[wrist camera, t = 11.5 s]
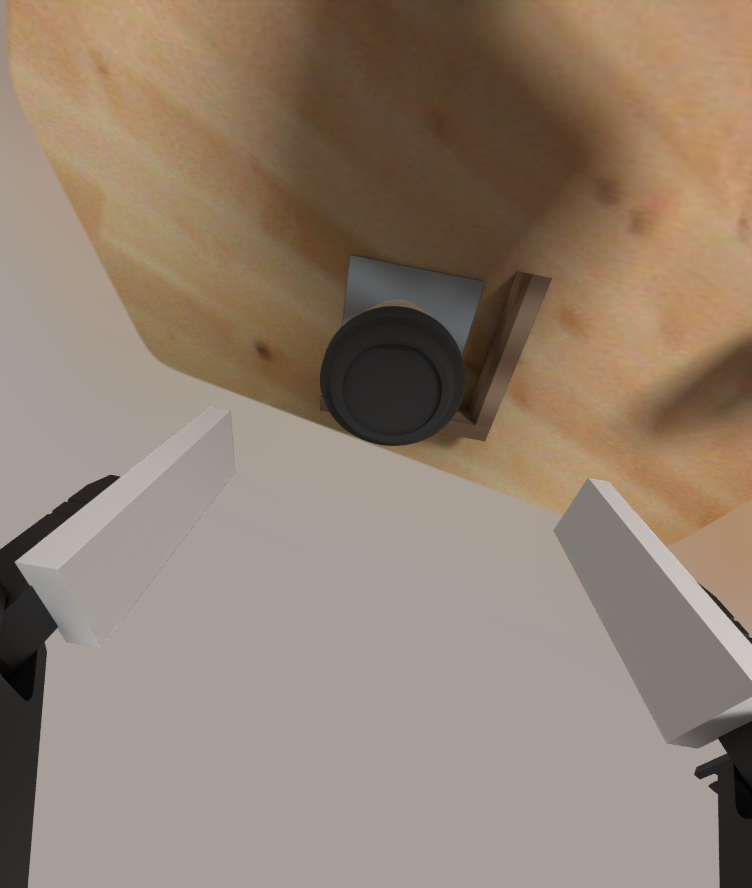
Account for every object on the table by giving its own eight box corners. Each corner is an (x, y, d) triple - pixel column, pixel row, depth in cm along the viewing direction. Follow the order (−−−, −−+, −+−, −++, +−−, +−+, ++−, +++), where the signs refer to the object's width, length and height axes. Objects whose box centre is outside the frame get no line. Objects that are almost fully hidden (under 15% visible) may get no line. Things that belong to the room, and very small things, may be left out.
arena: (344, 236, 27) (335, 234, 24) (533, 275, 28) (551, 278, 24) (328, 394, 35) (319, 410, 32) (477, 422, 36) (484, 441, 32)
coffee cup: (436, 384, 33) (457, 467, 20) (350, 378, 34) (317, 457, 21) (450, 287, 29) (487, 318, 16) (349, 282, 29) (306, 309, 16)
